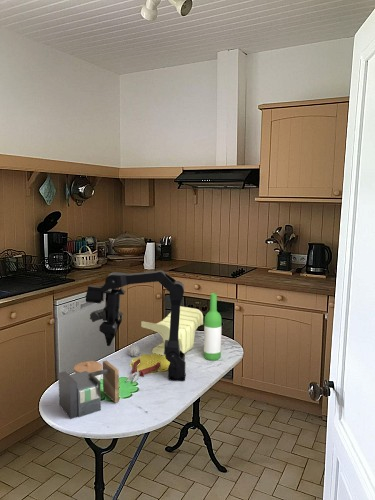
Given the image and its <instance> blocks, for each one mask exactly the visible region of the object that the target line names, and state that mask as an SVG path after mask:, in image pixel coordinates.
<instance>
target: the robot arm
mask: <svg viewBox="0 0 375 500" xmlns="http://www.w3.org/2000/svg"><path fill="white" fill-rule="evenodd" d="M157 282H158V283H159V284H160V285H161V286H162V287H163V288H164V289H165V290H167V291H168V292H169V300H170V307H171V309H170V312H171V319H170V335H169V340H165V344H164V347H165V349H164V355H165V356H164V358H165V360H167V362H169V364H168V368H167V377H168V381H174V382H175V381H177V382H185V381H186V376H187V373H186V366H187V365H186V361H185V360H186V353H183V352H182V351H181V350H180V345H179V338H178V333H179V317H180V306H181V305H182V301H183V298H184V297H183V296H184V293H185V285H184V283H183V281H180V280H176V279H175V278H174V277H172V276H171V275H169V274H168V273H166V272H165V271H164V270H163V269H159V270H155V271H145V272H144V271H143V272H136V273H135V272H134V273H126V272H122V271H121V272H118V271H114V272H111V273H110V274H108V275H107V277H106V278H105V282H104V283H103V284H102V285H101V286H95V285H88V286H87V290H86V294H85V302H86V303H87V304H88V303H89V304H102V302H104V301H105V302H104V303H105V305H104V307H103V308H101V309H98V310H94V311H92V312H90V314H89V319H90V320H91V322H92V323H94V322H96V321H100V320H102V323H101V322H100V324H99V327H98V329H99V330H98V331H99V332H100V333H102V334H103V335H104V338H105V343H106V346H108V347H110V346H111V345H112V342H113V340H114V339H115V337H116V335H117V332H118V329H119V328H120V326H121V323H122V321H123V318H124V314H123V312H122V311H120V310H121V305H120V304H121V296H123V295H125V294H126V291H125V289H123V287H126V286H129V285H134V284H136V285H137V284H146V283H157Z"/></svg>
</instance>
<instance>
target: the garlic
mask: <svg viewBox="0 0 375 500" xmlns="http://www.w3.org/2000/svg"><path fill="white" fill-rule="evenodd" d="M127 352H128V355H129V356H131V357H132V358H134V357H135V358H136V357H137V356H139V355H140V354H141V349H140V347H139V346H138V345H136V344H132V346H130V347H128V350H127Z"/></svg>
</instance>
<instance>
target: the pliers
mask: <svg viewBox="0 0 375 500" xmlns="http://www.w3.org/2000/svg"><path fill="white" fill-rule="evenodd" d="M139 363H140V364H141V359H140V358H138V359H136V360H135V362H133V364H132V370H130V371H131V372H130V375H129V377H128V378H127V379H126V381H125V383H127V382H130V381H132V382H131V383H132V384H133V383H135V382H136V381H137V380H139V377H142V378H144V377H145V375H148V374H151V373H154V372H156V371H158V370H159V369H160V368H161V365H162V364H161V362H159V361H158V362H157V363H155V365H153V366H150V367H146V368H144V369H140V370H138V367H137V366H139V365H140V364H139ZM138 364H139V365H138ZM159 367H160V368H159Z"/></svg>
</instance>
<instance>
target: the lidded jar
mask: <svg viewBox="0 0 375 500" xmlns="http://www.w3.org/2000/svg"><path fill="white" fill-rule="evenodd" d="M100 370H103V363H101V362H98V361H95V360H88V361H87V360H85V361H82V362H78V363H77V364H75V365H74V367H73V374H75V373H79V372H83V371H87V372H89V373H93V372H97V371H100ZM102 376H103V374H101V375H97V376H95V377H96V378H97V379H98V380H99V381H100V382H101V379H102Z"/></svg>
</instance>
